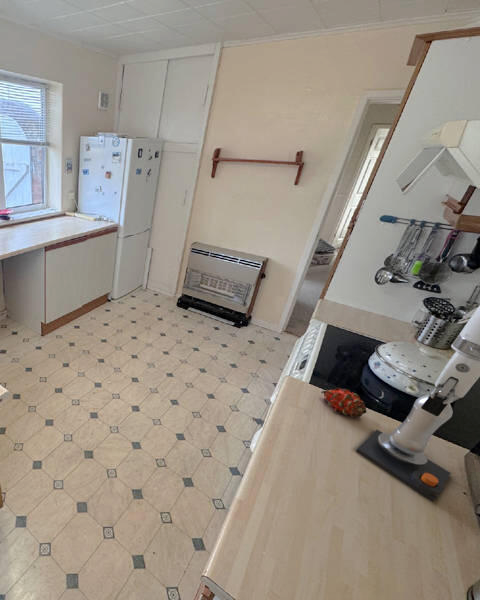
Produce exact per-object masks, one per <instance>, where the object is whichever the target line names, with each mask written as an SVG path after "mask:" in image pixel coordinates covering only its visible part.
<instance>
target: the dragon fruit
mask: <svg viewBox="0 0 480 600" xmlns="http://www.w3.org/2000/svg"><path fill="white" fill-rule="evenodd" d="M320 393H321V394H323V396H324V397H323V401H324V402H325V404H327V406H329V407H333V408H334V412H335V413H337V414H343V415H345V416H351V417H352V418H354V419H355V418H360V417H362V416H363V415H365V414H366V413H367V407H366V405H365V404H366V403H365V402H364V401H363V399H361V397H360V395H358V394H357V393H356V392H353V391H352V392H351V390H349V389H347V388H340V387H336V388H335V389H329V390H322V391H321V392H320Z"/></svg>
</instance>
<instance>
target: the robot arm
mask: <svg viewBox="0 0 480 600" xmlns="http://www.w3.org/2000/svg"><path fill="white" fill-rule="evenodd" d="M454 339H455V340H454V341H453V342H452V344H451V345H450V347H451V348H452V349H453V350H454V351H455V352H454V353H453V355H452V356H451V357H450V359H449V360H448V362H447V363H446V364H445V366H444V367H443V369H442V371H441V373H440V374H439V376H438V379H436V381H435V383H434V386H435V387H436V388H437V389H436V390H435V391H434V393H433V394H432V395H431V394H430V395H431V396H429V397H428V399H427V400H426V401H425V403H424V404H423V405H422V407H421V408H422V409H423V410H425V411H427V412H429V413H431V414H433V415H435V416H439V415H440V414H441V412H442V411H443V410H444V408H445V407H446V406H447V405H448V404H447V402H448V401H449V400H450V398H451V397H452V396H453V395H454V394H455V395H456V397H457V398H458V399H462V398H464V397H465V396H466V395H467V394H468V392H469V391H470V390H471V388H472V387H473V386H474V384H475V383H476V382H477V381H478V380H479V379H480V305H479V306H478V307H477V308H476V310H475V311H474V313H473V314H472V315H471V317H470V318H469V319H468V321H467V323H466V324H465V325H464V327H463V328H462V330H461V331H460V332H459V333H458V335H457V337H456V338H454ZM441 387H443V388H441ZM439 390H440V392H439ZM450 391H452V392H450ZM447 394H449V396H448V397H447V396H446V395H447ZM444 400H445V401H444Z"/></svg>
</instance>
